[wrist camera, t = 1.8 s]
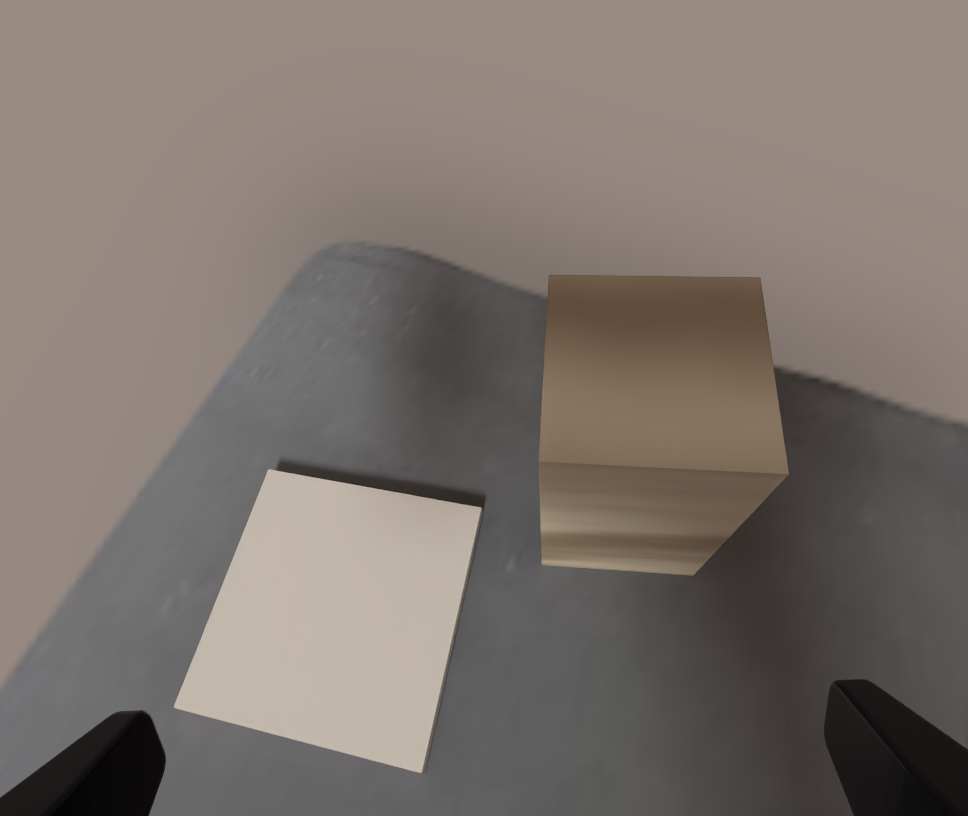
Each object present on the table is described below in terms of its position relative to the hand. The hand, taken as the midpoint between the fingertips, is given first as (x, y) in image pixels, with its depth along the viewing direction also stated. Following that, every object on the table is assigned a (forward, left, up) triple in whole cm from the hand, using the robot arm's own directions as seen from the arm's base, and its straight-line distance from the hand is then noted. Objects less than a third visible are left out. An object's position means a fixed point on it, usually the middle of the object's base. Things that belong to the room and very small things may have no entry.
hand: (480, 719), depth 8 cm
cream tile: (+7, -3, -14) cm, 16 cm away
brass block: (-2, -9, -14) cm, 17 cm away
